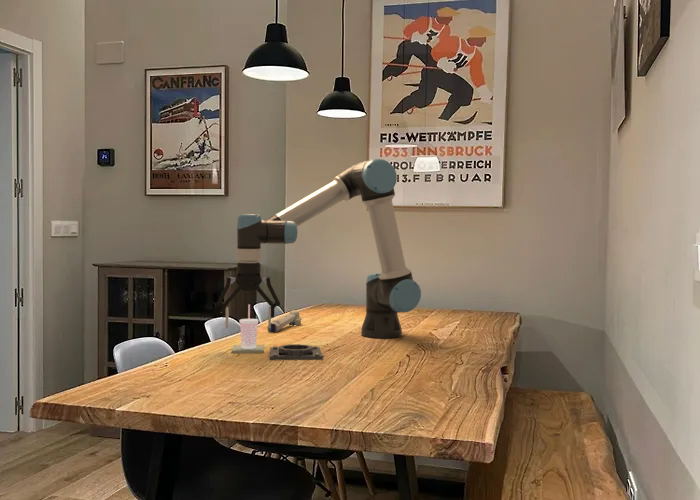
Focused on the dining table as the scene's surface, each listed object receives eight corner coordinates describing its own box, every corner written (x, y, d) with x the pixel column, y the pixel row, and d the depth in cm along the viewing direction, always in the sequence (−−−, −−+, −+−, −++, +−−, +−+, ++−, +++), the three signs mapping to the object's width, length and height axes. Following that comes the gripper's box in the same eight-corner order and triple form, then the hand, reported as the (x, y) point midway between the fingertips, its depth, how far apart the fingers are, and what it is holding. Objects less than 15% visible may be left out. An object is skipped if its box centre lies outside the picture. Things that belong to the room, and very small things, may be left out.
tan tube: (265, 322, 262) (291, 306, 286) (266, 339, 263) (292, 322, 287) (278, 323, 261) (303, 307, 284) (279, 340, 262) (303, 323, 285)
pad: (264, 347, 230) (264, 344, 230) (263, 352, 220) (263, 350, 220) (233, 347, 229) (233, 345, 229) (231, 353, 219) (231, 350, 219)
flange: (319, 350, 226) (319, 342, 226) (322, 359, 210) (322, 351, 210) (269, 350, 224) (270, 343, 224) (269, 359, 208) (269, 352, 208)
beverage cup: (242, 349, 220) (243, 305, 220) (236, 346, 226) (236, 303, 225) (261, 348, 223) (261, 305, 223) (254, 345, 228) (254, 303, 228)
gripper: (287, 261, 229) (286, 325, 229) (210, 261, 226) (210, 326, 227) (287, 262, 221) (287, 329, 222) (208, 262, 218) (207, 329, 219)
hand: (248, 327), depth 224 cm, fingers open, 13 cm apart
